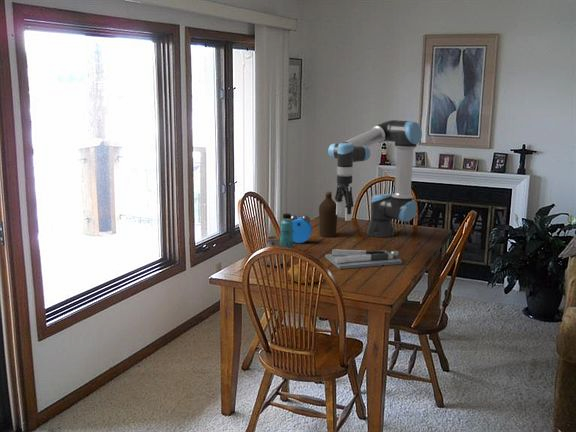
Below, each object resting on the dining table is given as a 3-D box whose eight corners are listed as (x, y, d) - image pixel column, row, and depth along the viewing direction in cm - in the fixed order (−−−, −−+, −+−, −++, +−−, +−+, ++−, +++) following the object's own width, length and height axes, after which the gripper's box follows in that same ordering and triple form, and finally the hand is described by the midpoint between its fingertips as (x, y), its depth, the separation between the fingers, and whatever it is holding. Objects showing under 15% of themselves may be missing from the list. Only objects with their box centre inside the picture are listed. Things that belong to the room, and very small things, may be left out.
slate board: (384, 252, 312) (384, 249, 311) (402, 263, 293) (402, 260, 293) (325, 257, 303) (325, 254, 303) (339, 269, 284) (339, 266, 284)
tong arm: (386, 255, 301) (386, 250, 301) (386, 256, 298) (386, 251, 298) (332, 253, 303) (332, 248, 302) (332, 255, 300) (332, 250, 300)
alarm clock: (311, 241, 333) (312, 214, 330) (310, 244, 327) (311, 216, 324) (288, 240, 335) (288, 213, 332) (286, 243, 329) (286, 215, 326)
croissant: (283, 281, 274) (281, 264, 272) (315, 272, 279) (313, 256, 277) (295, 290, 261) (293, 272, 259) (328, 281, 266) (326, 264, 264)
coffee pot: (261, 260, 297) (261, 230, 294) (285, 260, 297) (285, 230, 294) (259, 274, 277) (259, 242, 273) (285, 274, 276) (285, 242, 273)
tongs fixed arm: (396, 255, 301) (396, 250, 300) (400, 258, 296) (401, 252, 295) (333, 260, 292) (333, 254, 291) (337, 263, 287) (337, 257, 286)
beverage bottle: (279, 250, 315) (279, 212, 311) (292, 250, 315) (292, 212, 311) (280, 253, 309) (280, 215, 304) (293, 253, 309) (293, 215, 305)
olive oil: (328, 238, 339) (329, 194, 333) (314, 235, 346) (315, 191, 341) (341, 235, 346) (342, 192, 340) (327, 232, 353) (328, 189, 348)
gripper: (329, 171, 310) (328, 212, 315) (346, 179, 287) (344, 223, 291) (343, 171, 312) (342, 211, 317) (361, 178, 289) (359, 222, 293)
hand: (343, 217), depth 304 cm, fingers open, 13 cm apart
